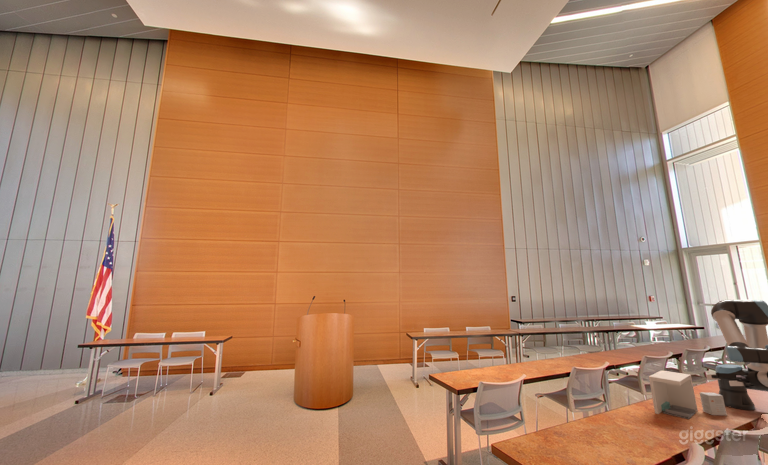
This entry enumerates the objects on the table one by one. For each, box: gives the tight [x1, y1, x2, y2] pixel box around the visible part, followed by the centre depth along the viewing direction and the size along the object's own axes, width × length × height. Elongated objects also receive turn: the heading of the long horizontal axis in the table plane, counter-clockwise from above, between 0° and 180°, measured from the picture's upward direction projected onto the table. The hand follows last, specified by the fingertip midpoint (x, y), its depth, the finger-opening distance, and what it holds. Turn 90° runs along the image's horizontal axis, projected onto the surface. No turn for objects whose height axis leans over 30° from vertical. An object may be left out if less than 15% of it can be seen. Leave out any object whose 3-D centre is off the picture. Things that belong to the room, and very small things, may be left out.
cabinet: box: [648, 369, 699, 420], centre depth 179 cm, size 14×24×20 cm, turn 125°
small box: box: [699, 391, 728, 416], centre depth 176 cm, size 8×6×10 cm
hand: (718, 380), depth 176 cm, fingers open, 13 cm apart
